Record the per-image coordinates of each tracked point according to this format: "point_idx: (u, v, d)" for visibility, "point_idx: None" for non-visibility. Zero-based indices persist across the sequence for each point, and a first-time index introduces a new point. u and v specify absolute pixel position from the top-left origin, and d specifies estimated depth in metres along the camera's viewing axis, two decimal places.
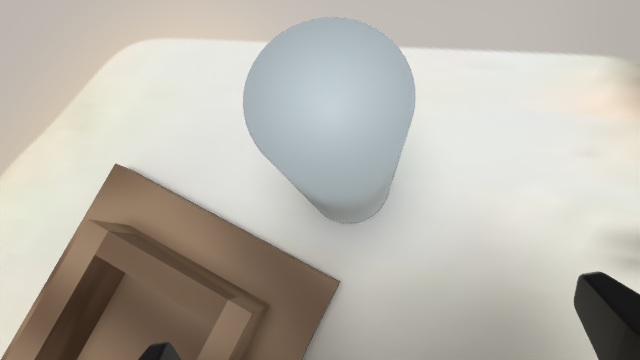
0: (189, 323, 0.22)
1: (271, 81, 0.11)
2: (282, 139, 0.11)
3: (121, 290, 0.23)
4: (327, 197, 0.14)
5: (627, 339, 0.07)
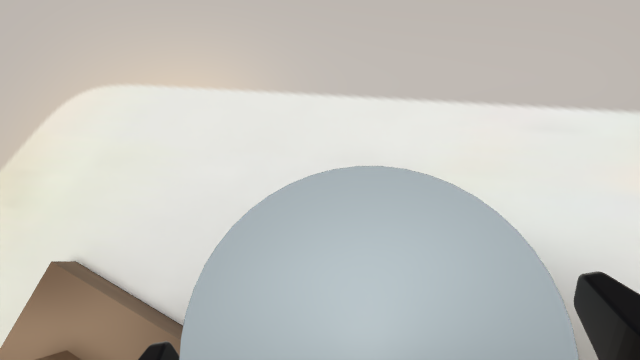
0: None
1: (242, 313, 0.05)
2: None
3: None
4: None
5: (627, 339, 0.07)
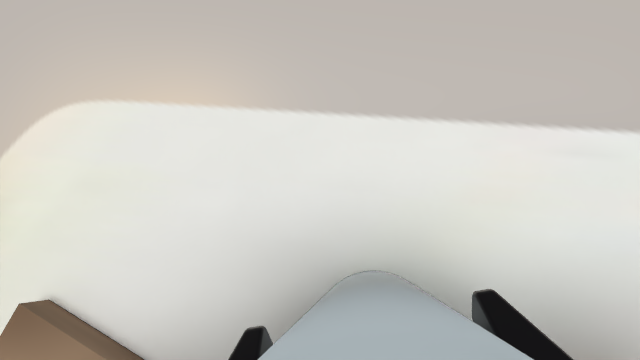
0: None
1: None
2: None
3: None
4: None
5: None
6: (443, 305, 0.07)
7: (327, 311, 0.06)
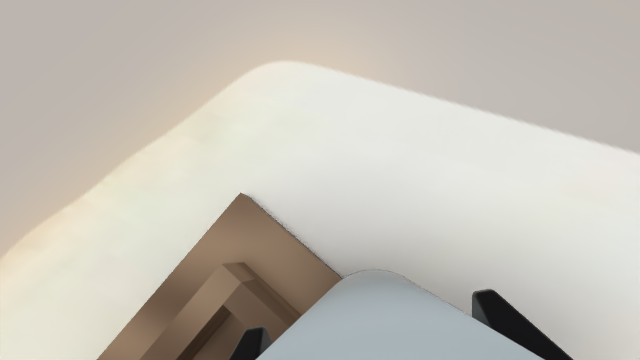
0: None
1: None
2: None
3: (224, 329, 0.21)
4: None
5: None
6: (444, 302, 0.07)
7: (329, 308, 0.06)
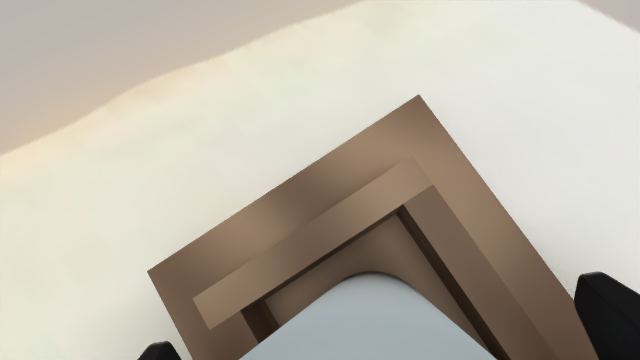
0: None
1: None
2: None
3: (361, 245, 0.18)
4: None
5: (627, 339, 0.07)
6: (418, 300, 0.08)
7: (320, 304, 0.07)
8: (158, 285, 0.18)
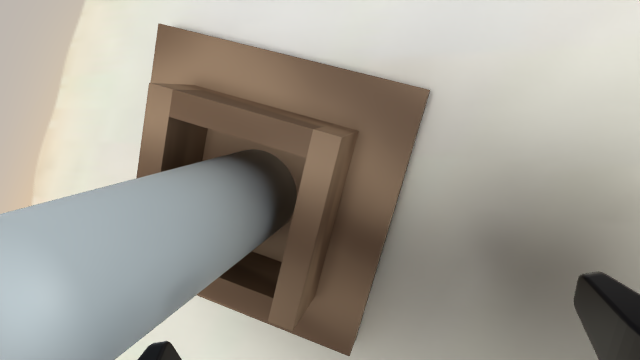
0: None
1: None
2: None
3: (209, 150, 0.22)
4: None
5: (627, 339, 0.07)
6: None
7: None
8: None
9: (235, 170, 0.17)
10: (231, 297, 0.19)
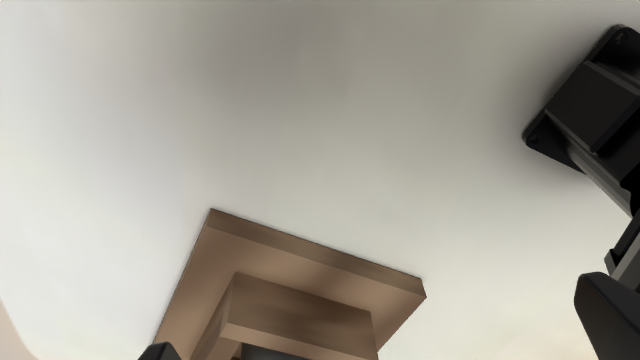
0: None
1: None
2: None
3: None
4: None
5: (627, 339, 0.07)
6: None
7: None
8: None
9: None
10: None
